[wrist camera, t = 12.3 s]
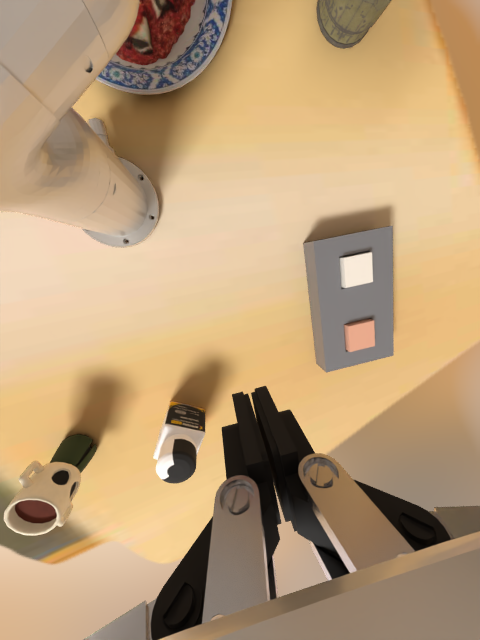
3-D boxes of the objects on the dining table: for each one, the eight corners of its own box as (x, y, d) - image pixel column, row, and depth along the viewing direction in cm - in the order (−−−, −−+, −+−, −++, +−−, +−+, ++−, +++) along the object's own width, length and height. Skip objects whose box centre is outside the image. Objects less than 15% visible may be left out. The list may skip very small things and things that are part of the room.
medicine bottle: (205, 408, 47) (205, 456, 35) (194, 437, 48) (191, 493, 37) (170, 400, 45) (158, 447, 34) (160, 430, 47) (145, 486, 35)
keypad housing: (303, 243, 41) (313, 241, 38) (375, 228, 43) (392, 225, 39) (316, 363, 48) (326, 372, 44) (378, 347, 49) (393, 355, 45)
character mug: (111, 459, 47) (77, 531, 34) (77, 473, 46) (30, 551, 34) (83, 416, 44) (34, 479, 31) (46, 431, 43) (-19, 500, 31)
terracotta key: (339, 322, 44) (348, 326, 41) (363, 316, 45) (374, 320, 42) (340, 346, 46) (349, 352, 43) (364, 340, 46) (374, 345, 43)
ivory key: (334, 258, 41) (343, 258, 38) (360, 252, 41) (372, 252, 38) (336, 286, 42) (345, 288, 39) (361, 280, 43) (372, 282, 40)
